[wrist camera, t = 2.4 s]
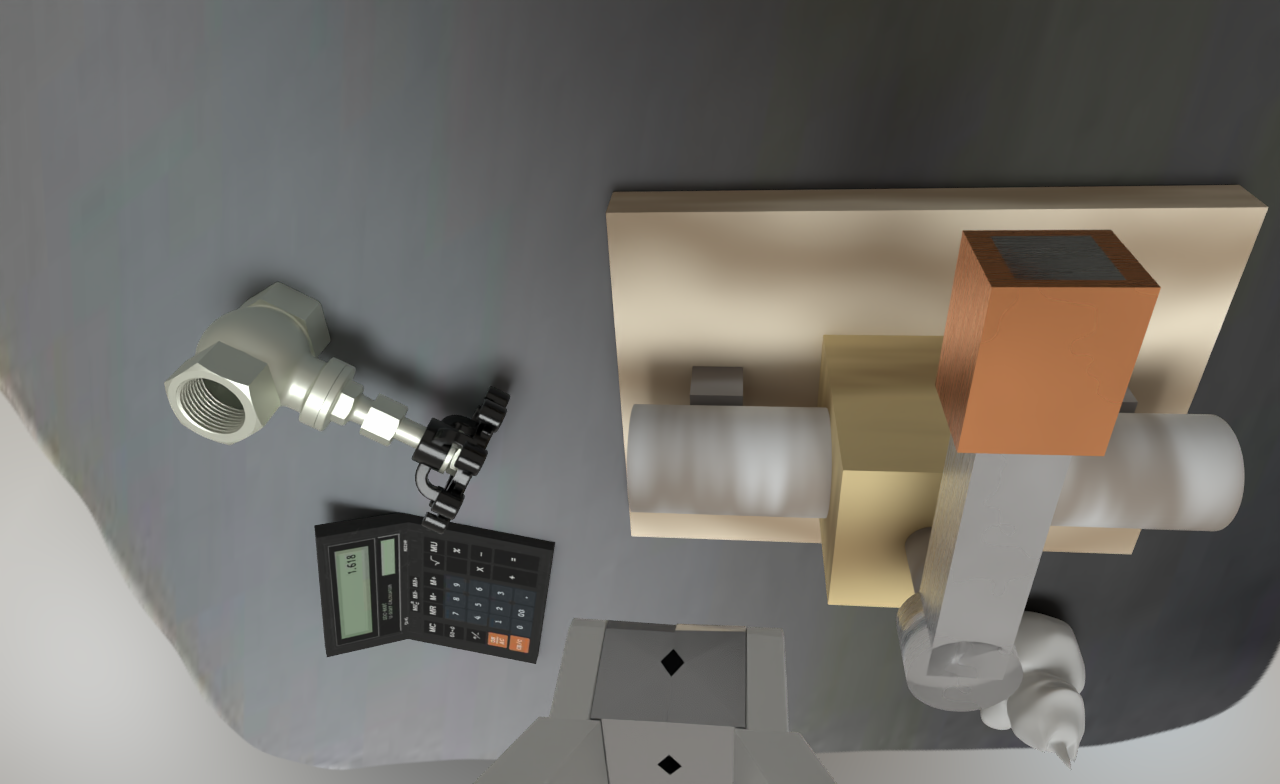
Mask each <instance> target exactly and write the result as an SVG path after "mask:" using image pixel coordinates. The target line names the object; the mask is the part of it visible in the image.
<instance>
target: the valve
mask: <svg viewBox="0 0 1280 784" xmlns="http://www.w3.org/2000/svg"><path fill="white" fill-rule="evenodd" d="M329 342H330V335H329V332H328V328H327V324H326V321H325V317H324V313H323V310H322V306H321V304H320V302H318V301H317V300H315V299H313V298H311V297H309V296H307V295H305V294H303V293H300V292H298V291H296V290H294V289H292V288H290V287H288V286H286V285H284V284H282V283H279V282H276V283H274V284H273V285H271V286H269V287H268V288H266V289H265V290H263V291H261V292H260V293H258V294H257V295H255V296H253V297H252V298H250V299H249V300H247V301H246V302H245V303H244V304H243V305H242V306H241V307H240V308H239V309H236V310H233V311H231V312H228V313H226V314H224V315H223V316H221V317H220V318H218V319H217V320H215V321H214V322H213V323H212V324H211V325H210V326H209V327H208V328H207V329H206V331H205V332H204V333H203V335H202V337H201V339H200V341H199V343H198V346H197V349H196V353H195V356H193V357H192V358H190V359H188V360H187V361H185V362H184V363H183V364H182V365H181V366H180V367H179V368H178V369H177V370H176V371H175V372H174V373H173V374H172V375H171V376H170V377H169V378H168V379H167V380H166V381H165V382H164V384H165V389H166V393H167V396H168V399H169V402H170V405H171V407H172V409H173V411H174V413H175V415H176V417H177V418H178V420H179V421H180V422H181V424H183V425H184V426H186V427H187V428H189V429H190V430H192V431H194V432H195V433H197V434H199V435H201V436H203V437H206V438H208V439H211V440H214V441H216V442H220V443H223V444H227V445H231V444H234V443H237V442H239V441H241V440H243V439H245V438H247V437H248V436H250V435H252V434H254V433H255V432H257V431H258V430H260V429H262V428H263V427H264V426H265V424H266V423H267V422H268V421H269V419H270V418H271V417H272V415H273V414H274V413H275V412H276V410H277V409H278V408H279V407H281V406H287V407H289V408H291V409H293V410H295V411H297V412H300V415H299V421H300V422H302V423H304V424H306V425H308V426H310V427H313V428H315V429H317V430H319V431H323V430H325V429H326V427H327V426H328V425H329V423H330V422H331V421H333V422H335V423H337V424H339V425H342V426H344V425H345V424H346V423H347V422H348V421H353V422H355V423H357V424H360V425H362V426H361V429H360V433H359V434H361V435H363V436H365V437H368V438H370V439H372V440H374V441H376V442H378V443H381V444H383V445H385V446H389V445H390V444H391V442H392V441H393V439H397V440H399V441H401V442H403V443H405V444H407V445H410V446H412V447H414V448H416V450H415V452H414V454H413V456H412V460H413V461H416V462H418V463H419V465H418V467H417V470H416V474H415V482H416V486H417V488H418V490H419V491H420V493H421V494H422V495H423V496H425V497H426V498H428V499H429V500H431V501H430V503H429V506H430V507H431V511H433V512H435V513H438V514H437V516H436V515H434V514H432V513H429V512H426V514H425V516H424V518H423V521H422V523H421V526H423V527H425V528H427V529H430V530H432V531H434V532H436V533H439V534H443V533H444V531H445V530H446V528H447V526H448V524H449V522H450V520H453V519H454V518H455V516H456V515H457V513H458V511H459V509H460V507H461V505H462V503H463V500H464V498H465V495H464V494H463V493H464V491H465V489H466V487H467V485H468V483H469V481H470V479H471V478H472V476H476V475H477V474H478V473H479V471H480V469H481V467H482V465H483V463H484V461H485V459H486V457H487V454H488V451H487V450H485V449H486V447H487V445H488V443H489V440H490V438H491V436H492V434H493V433H495V432H497V430H498V429H499V427H500V425H501V423H502V421H503V419H504V417H505V415H506V412H507V409H506V406H507V404H508V402H509V399H510V395H509V394H507V393H505V392H503V391H501V390H499V389H497V388H495V387H493V386H490V387H489V388H488V390H487V392H486V394H485V396H484V399H485V401H484V402H483V404H482V406H480V405H479V406H478V407H477V409H476V411H475V412H474V414H473V416H472V418H471V419H470V418H467V417H464V416H460V415H451V416H447V417H445V418H444V419H442V420H441V421H440V420H437V419H435V418H432V419H431V421H430V423H429V424H428V426H427V427H425V426H423V425H421V424H418V423H416V422H414V421H412V420H410V419H408V418H406V417H405V415H406V413H407V411H408V408H407V406H405V405H403V404H401V403H399V402H396V401H394V400H392V399H390V398H388V397H386V396H384V395H382V394H380V393H379V395H378V397H377V398H376V400H375V401H374V400H372V399H370V398H368V397H366V396H364V394H363V391H364V387H363V385H361V384H358V383H356V382H354V381H353V378H354V375H355V372H356V368H355V367H354V366H352V365H349V364H347V363H345V362H343V361H341V360H339V359H337V358H335V357H334V358H331V359H330V360H329V361H328V362H325V361H322V360H320V359H318V356H319V355H320V354H321V352H322V351H323V350H324V349H325V347H326V346H327V345H328V343H329ZM464 433H465V434H464ZM466 434H467V435H466ZM468 435H469V436H468ZM431 469H433V470H435V471H437V472H440V473H442V474H443V473H444V471H445V470H446V473H448V474H450V477H449V479H448V481H447V483H446V485H445V488H442V487H440V486H438V487H437V486H434V485H432V484H431V483H430V482H429V479H428V474H429V472H430V470H431Z"/></svg>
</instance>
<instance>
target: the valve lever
mask: <svg viewBox="0 0 1280 784" xmlns="http://www.w3.org/2000/svg"><path fill="white" fill-rule="evenodd" d="M1160 289H1161V287H1160V286H1159V285H1158V283H1157V282H1156V281H1155V280H1154V279H1153V278H1152V277H1151V275H1150V274H1149V273H1148V272H1147V271H1146V270H1145V268H1144V267H1143V266H1142V265H1141V264H1140V263H1139V262H1138V260H1137V259H1136V258H1135V257H1134V256H1133V255H1132V253H1131V252H1130V251H1129V250H1128V249H1127V248H1126V246H1125V245H1124V244H1123V243H1122V242H1121V241H1120V240H1119V238H1118V237H1117V236H1116V235H1115V234H1114V233H1113V231H1112V230H963V231H962V237H961V243H960V248H959V254H958V259H957V265H956V270H955V276H954V282H953V287H952V293H951V298H950V304H949V309H948V315H947V321H946V326H945V332H944V337H943V343H942V349H941V354H940V360H939V365H938V371H937V376H936V382H935V387H936V390H937V393H938V396H939V399H940V402H941V405H942V408H943V411H944V414H945V417H946V420H947V423H948V426H949V429H950V432H951V435H950V440H949V445H948V450H947V455H946V460H945V465H944V470H943V475H942V480H941V485H940V490H939V495H938V500H937V505H936V510H935V515H934V520H933V525H932V530H931V535H930V540H929V545H928V550H927V555H926V560H925V565H924V570H923V575H922V580H921V585H920V590H919V592H917V593H915V594H914V595H912V596H911V597H909V598H908V599H907V600H906V601H905V602H904V603H903V604H902V606H901V607H900V609H899V611H898V613H897V616H896V626H897V631H898V637H899V642H900V647H901V653H902V658H903V664H904V669H905V675H906V680H907V685H908V688H909V689H910V691H911V693H912V694H913V695H914V696H915V697H916V698H917V699H918V700H920V701H922V702H923V703H925V704H927V705H929V706H932V707H935V708H938V709H942V710H948V711H973V710H979V709H984V708H987V707H991V706H993V705H996V704H998V703H1000V702H1002V701H1004V700H1006V699H1007V698H1009V697H1010V696H1011V695H1012V694H1013V693H1014V692H1015V691H1016V690H1017V689H1018V687H1019V686H1020V684H1021V682H1022V678H1023V669H1022V665H1021V662H1020V659H1019V656H1018V653H1017V650H1016V647H1015V644H1014V641H1015V638H1016V635H1017V632H1018V628H1019V625H1020V622H1021V619H1022V615H1023V612H1024V609H1025V606H1026V603H1027V599H1028V596H1029V593H1030V590H1031V586H1032V583H1033V580H1034V577H1035V573H1036V570H1037V567H1038V564H1039V561H1040V557H1041V554H1042V551H1043V548H1044V544H1045V541H1046V538H1047V535H1048V531H1049V528H1050V525H1051V522H1052V519H1053V515H1054V512H1055V509H1056V506H1057V502H1058V499H1059V496H1060V493H1061V489H1062V486H1063V483H1064V480H1065V477H1066V473H1067V470H1068V467H1069V464H1070V460H1071V457H1072V456H1104V455H1105V452H1106V449H1107V446H1108V443H1109V440H1110V437H1111V434H1112V431H1113V428H1114V425H1115V422H1116V420H1117V417H1118V414H1119V411H1120V408H1121V405H1122V402H1123V399H1124V396H1125V393H1126V390H1127V387H1128V384H1129V381H1130V378H1131V375H1132V372H1133V369H1134V366H1135V363H1136V360H1137V357H1138V354H1139V351H1140V348H1141V345H1142V343H1143V340H1144V337H1145V334H1146V331H1147V328H1148V325H1149V322H1150V319H1151V316H1152V313H1153V310H1154V307H1155V304H1156V301H1157V298H1158V295H1159V292H1160Z"/></svg>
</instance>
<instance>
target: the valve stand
mask: <svg viewBox="0 0 1280 784" xmlns="http://www.w3.org/2000/svg"><path fill="white" fill-rule="evenodd" d="M1267 210H1268V207H1267V206H1266V205H1265V204H1263V203H1262V202H1261V201H1260V200H1258V199H1257V198H1256V197H1254V196H1253V195H1252V194H1250V193H1249V192H1248V191H1246V190H1245V189H1244V188H1243V187H1241V186H1240V185H1186V186H1097V187H1008V188H919V189H830V190H741V191H652V192H613V194H612V196H611V199H610V202H609V205H608V208H607V211H606V221H607V234H608V246H609V259H610V271H611V284H612V296H613V309H614V322H615V334H616V347H617V359H618V372H619V385H620V397H621V410H622V422H623V435H624V447H625V460H626V473H627V490H628V501H629V510H630V523H631V535H632V536H641V537H668V538H696V539H724V540H751V541H779V542H807V543H822V551H823V560H824V570H825V580H826V589H827V599H828V604H830V605H853V606H875V607H898V608H900V607H901V606H902V604H903V603H904V602H905V601H906V600H907V599H908V598H909V597H911V596H912V595H914V594H915V593H917V592H919V590H920V585H921V580H922V575H923V570H924V565H925V560H926V555H927V550H928V545H929V540H930V535H931V530H932V525H933V520H934V515H935V510H936V505H937V500H938V495H939V490H940V485H941V480H942V475H943V470H944V465H945V460H946V455H947V450H948V445H949V440H950V435H951V432H950V429H949V426H948V423H947V420H946V417H945V414H944V411H943V408H942V405H941V402H940V399H939V396H938V393H937V390H936V387H935V382H936V376H937V371H938V365H939V360H940V354H941V349H942V343H943V337H944V332H945V326H946V321H947V315H948V309H949V304H950V298H951V293H952V287H953V282H954V276H955V270H956V265H957V259H958V254H959V248H960V243H961V237H962V231H963V230H1112V231H1113V233H1114V234H1115V235H1116V236H1117V237H1118V238H1119V240H1120V241H1121V242H1122V243H1123V244H1124V245H1125V246H1126V248H1127V249H1128V250H1129V251H1130V252H1131V253H1132V255H1133V256H1134V257H1135V258H1136V259H1137V260H1138V262H1139V263H1140V264H1141V265H1142V266H1143V267H1144V268H1145V270H1146V271H1147V272H1148V273H1149V274H1150V275H1151V277H1152V278H1153V279H1154V280H1155V281H1156V282H1157V283H1158V285H1159V286H1160V287H1161V289H1160V292H1159V295H1158V298H1157V301H1156V304H1155V307H1154V310H1153V313H1152V316H1151V319H1150V322H1149V325H1148V328H1147V331H1146V334H1145V337H1144V340H1143V343H1142V345H1141V348H1140V351H1139V354H1138V357H1137V360H1136V363H1135V366H1134V369H1133V372H1132V375H1131V378H1130V381H1129V384H1128V387H1127V390H1126V393H1125V396H1124V399H1123V402H1122V405H1121V408H1120V411H1119V414H1118V417H1117V420H1116V422H1115V425H1114V428H1113V431H1112V434H1111V437H1110V440H1109V443H1108V446H1107V449H1106V452H1105V455H1104V456H1072V457H1071V460H1070V464H1069V467H1068V470H1067V473H1066V477H1065V480H1064V483H1063V486H1062V489H1061V493H1060V496H1059V499H1058V502H1057V506H1056V509H1055V512H1054V515H1053V519H1052V522H1051V525H1050V528H1049V531H1048V535H1047V538H1046V541H1045V544H1044V548H1043V551H1056V552H1084V553H1111V554H1132V551H1133V549H1134V546H1135V544H1136V541H1137V539H1138V536H1139V534H1140V531H1141V529H1164V530H1194V531H1219V530H1221V529H1223V528H1225V527H1226V526H1227V525H1229V524H1230V523H1231V521H1232V520H1233V519H1234V517H1235V515H1236V513H1237V511H1238V509H1239V507H1240V503H1241V500H1242V495H1243V489H1244V464H1243V457H1242V453H1241V449H1240V446H1239V443H1238V440H1237V438H1236V436H1235V434H1234V432H1233V430H1232V429H1231V427H1230V426H1229V425H1228V424H1227V423H1226V422H1225V421H1224V420H1223V419H1222V418H1220V417H1218V416H1215V415H1210V414H1187V412H1188V410H1189V407H1190V404H1191V402H1192V399H1193V397H1194V394H1195V392H1196V389H1197V387H1198V384H1199V382H1200V379H1201V377H1202V374H1203V372H1204V369H1205V367H1206V364H1207V361H1208V359H1209V356H1210V354H1211V351H1212V349H1213V346H1214V344H1215V341H1216V339H1217V336H1218V334H1219V331H1220V329H1221V326H1222V324H1223V321H1224V318H1225V316H1226V313H1227V311H1228V308H1229V306H1230V303H1231V301H1232V298H1233V296H1234V293H1235V291H1236V288H1237V286H1238V283H1239V281H1240V278H1241V275H1242V273H1243V270H1244V268H1245V265H1246V263H1247V260H1248V258H1249V255H1250V253H1251V250H1252V248H1253V245H1254V243H1255V240H1256V237H1257V235H1258V232H1259V230H1260V227H1261V225H1262V222H1263V220H1264V217H1265V215H1266V212H1267Z"/></svg>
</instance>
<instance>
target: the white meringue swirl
mask: <svg viewBox="0 0 1280 784" xmlns="http://www.w3.org/2000/svg"><path fill="white" fill-rule="evenodd" d="M1014 644H1015V647H1016V650H1017V653H1018V656H1019V659H1020V662H1021V665H1022V669H1023V678H1022V682H1021V684H1020V686H1019V687H1018V689H1017V690H1016V691H1015V692H1014V693H1013V694H1012V695H1011V696H1010V697H1009V698H1007V699H1006V700H1004V701H1002V702H1000V703H998V704H996V705H993V706H991V707H987V708H984V709H980V713H981V718H982V720H983V722H984V723H985V724H986V725H988V726H989V727H991V728H994V729H999V730H1006V729H1009V728H1011V727H1012V730H1013V732H1014V733H1015V735H1016V736H1017V737H1018V738H1019V739H1021V740H1022V741H1023V742H1024V743H1026V744H1027V745H1029V746H1031V747H1033V748H1035V749H1037V750H1040V751H1042V752H1051V753H1056V754H1057V756H1059V758H1060V759H1061V760H1062V761H1063V762H1064V763H1065V764H1066V765H1067V766H1068V767H1069V768H1070V769H1071V764H1070V760H1071V761H1075V760H1076V757H1077V752H1078V747H1079V744H1080V741H1081V738H1082V736H1083V734H1084V730H1085V710H1084V703H1083V699H1082V697H1081V695H1080V694H1079V693H1080V692H1081V691H1082V690H1083V688H1084V684H1085V665H1084V662H1083V658H1082V656H1081V653H1080V649H1079V646H1078V644H1077V641H1076V638H1075V635H1074V632H1073V630H1072V628H1071V627H1070V626H1069V625H1068V624H1067V623H1065V622H1063V621H1061V620H1059V619H1056V618H1053V617H1050V616H1047V615H1044V614H1040V613H1035V612H1029V611H1024V612H1023V615H1022V619H1021V622H1020V625H1019V628H1018V632H1017V635H1016V638H1015V641H1014Z"/></svg>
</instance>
